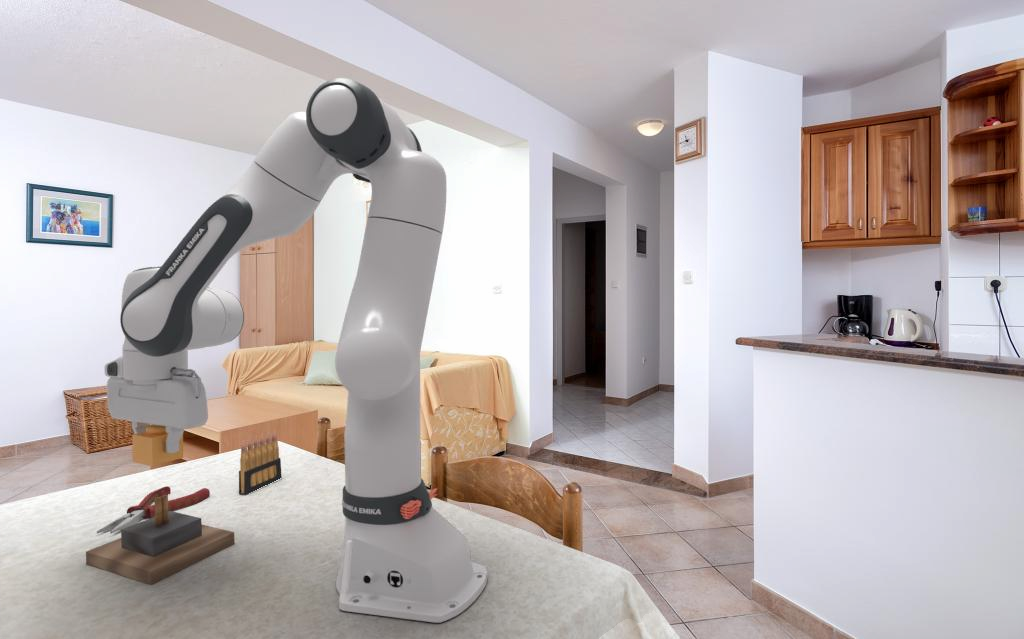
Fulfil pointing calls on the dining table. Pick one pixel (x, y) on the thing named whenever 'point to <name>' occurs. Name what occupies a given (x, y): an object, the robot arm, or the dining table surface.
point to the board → (159, 562)
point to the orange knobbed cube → (153, 446)
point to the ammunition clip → (259, 463)
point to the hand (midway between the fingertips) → (158, 449)
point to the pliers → (148, 511)
